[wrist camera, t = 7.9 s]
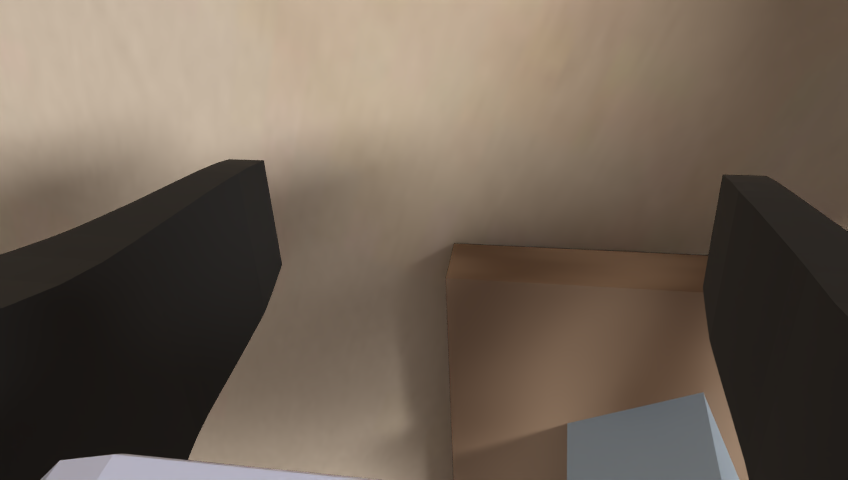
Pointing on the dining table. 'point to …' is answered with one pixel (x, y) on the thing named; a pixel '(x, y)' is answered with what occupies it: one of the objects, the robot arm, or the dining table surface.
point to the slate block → (650, 444)
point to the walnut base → (569, 350)
